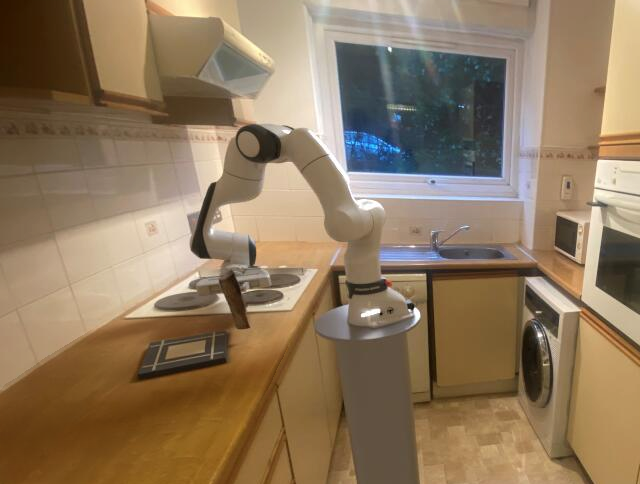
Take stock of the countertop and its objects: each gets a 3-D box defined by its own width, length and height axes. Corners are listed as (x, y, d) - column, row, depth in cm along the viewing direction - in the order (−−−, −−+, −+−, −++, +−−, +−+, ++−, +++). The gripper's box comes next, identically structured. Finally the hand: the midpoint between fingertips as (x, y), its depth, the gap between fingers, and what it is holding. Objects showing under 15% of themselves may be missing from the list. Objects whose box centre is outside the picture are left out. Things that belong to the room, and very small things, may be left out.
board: (227, 334, 129) (226, 329, 128) (226, 362, 113) (225, 356, 112) (151, 347, 120) (149, 341, 120) (139, 379, 105) (137, 373, 104)
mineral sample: (250, 328, 125) (233, 279, 119) (234, 332, 124) (216, 282, 117) (249, 309, 139) (234, 264, 132) (235, 312, 137) (218, 266, 130)
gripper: (194, 273, 137) (191, 286, 126) (267, 265, 147) (269, 276, 136) (199, 292, 139) (197, 306, 129) (271, 283, 149) (274, 294, 138)
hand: (235, 290), depth 132 cm, fingers closed on mineral sample, 3 cm apart
